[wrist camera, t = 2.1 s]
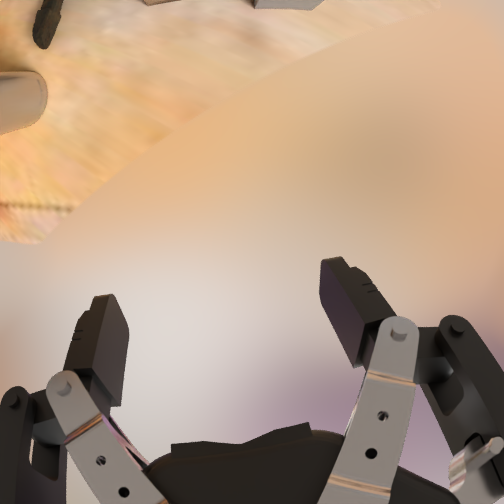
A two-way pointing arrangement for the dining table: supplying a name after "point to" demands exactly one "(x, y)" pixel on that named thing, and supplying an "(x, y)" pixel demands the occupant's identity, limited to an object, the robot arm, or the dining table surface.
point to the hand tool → (46, 22)
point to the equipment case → (287, 4)
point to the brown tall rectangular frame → (157, 1)
